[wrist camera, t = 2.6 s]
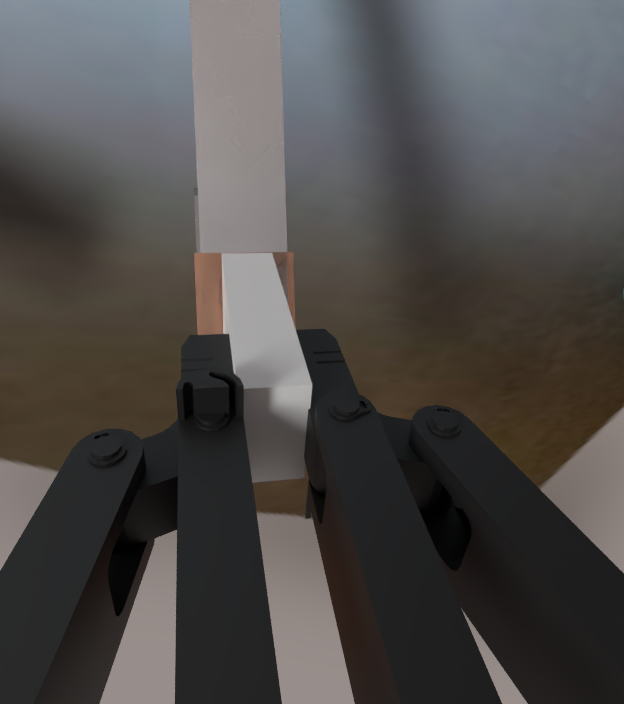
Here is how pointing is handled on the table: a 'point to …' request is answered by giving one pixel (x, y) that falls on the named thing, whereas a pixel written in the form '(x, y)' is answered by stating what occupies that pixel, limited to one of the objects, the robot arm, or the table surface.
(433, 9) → the table surface
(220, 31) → the bar
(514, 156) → the table surface
